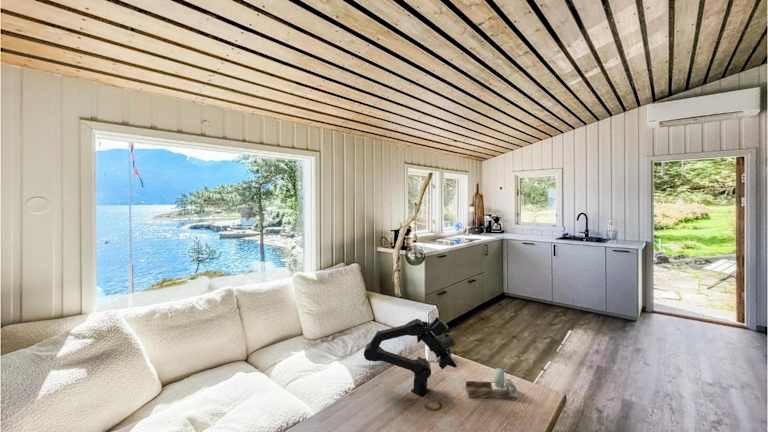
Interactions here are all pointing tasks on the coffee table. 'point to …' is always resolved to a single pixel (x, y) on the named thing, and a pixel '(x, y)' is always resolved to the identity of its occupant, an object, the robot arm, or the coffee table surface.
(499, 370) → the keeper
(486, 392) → the brown wooden open box
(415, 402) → the coffee table surface
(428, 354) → the jar
